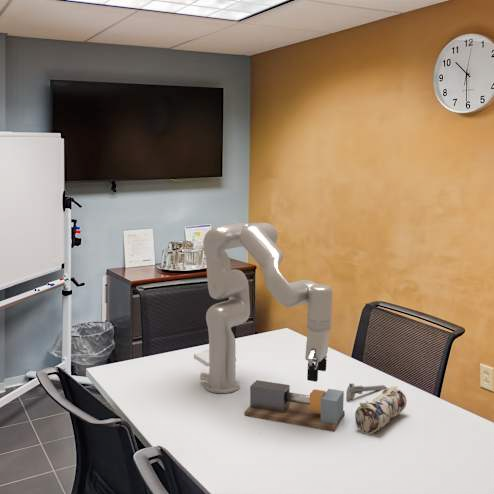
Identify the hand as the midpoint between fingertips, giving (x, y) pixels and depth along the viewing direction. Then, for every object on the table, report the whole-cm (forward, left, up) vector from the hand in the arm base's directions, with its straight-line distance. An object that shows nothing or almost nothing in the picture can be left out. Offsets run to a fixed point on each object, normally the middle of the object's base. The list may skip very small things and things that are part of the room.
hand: (316, 375), depth 199 cm
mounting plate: (-55, +40, -15) cm, 70 cm away
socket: (+5, 0, -13) cm, 14 cm away
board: (-7, 0, -15) cm, 16 cm away
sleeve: (-16, 0, -13) cm, 21 cm away
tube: (-3, 0, -12) cm, 12 cm away
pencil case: (+20, +6, -15) cm, 26 cm away
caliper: (+11, +27, -15) cm, 33 cm away
